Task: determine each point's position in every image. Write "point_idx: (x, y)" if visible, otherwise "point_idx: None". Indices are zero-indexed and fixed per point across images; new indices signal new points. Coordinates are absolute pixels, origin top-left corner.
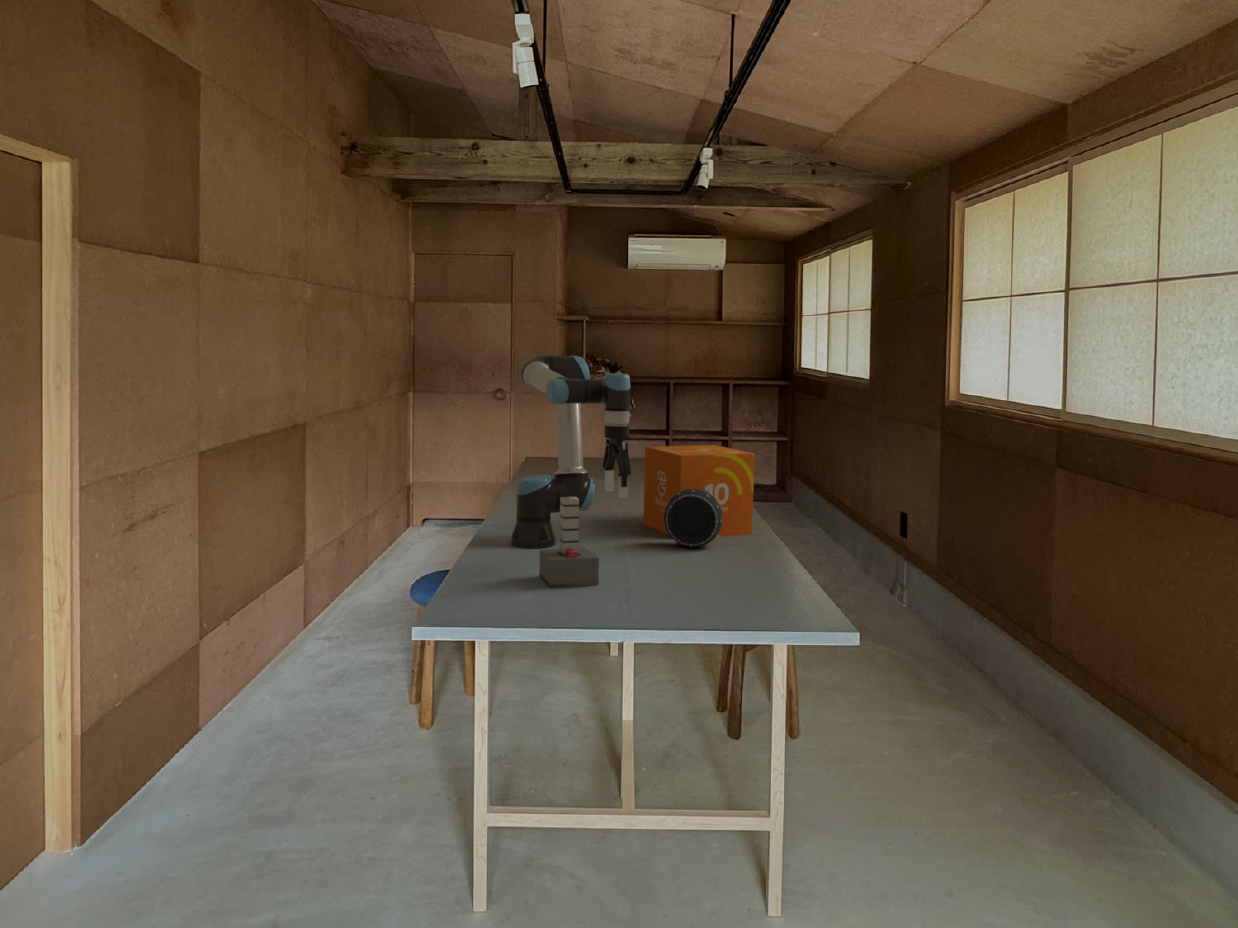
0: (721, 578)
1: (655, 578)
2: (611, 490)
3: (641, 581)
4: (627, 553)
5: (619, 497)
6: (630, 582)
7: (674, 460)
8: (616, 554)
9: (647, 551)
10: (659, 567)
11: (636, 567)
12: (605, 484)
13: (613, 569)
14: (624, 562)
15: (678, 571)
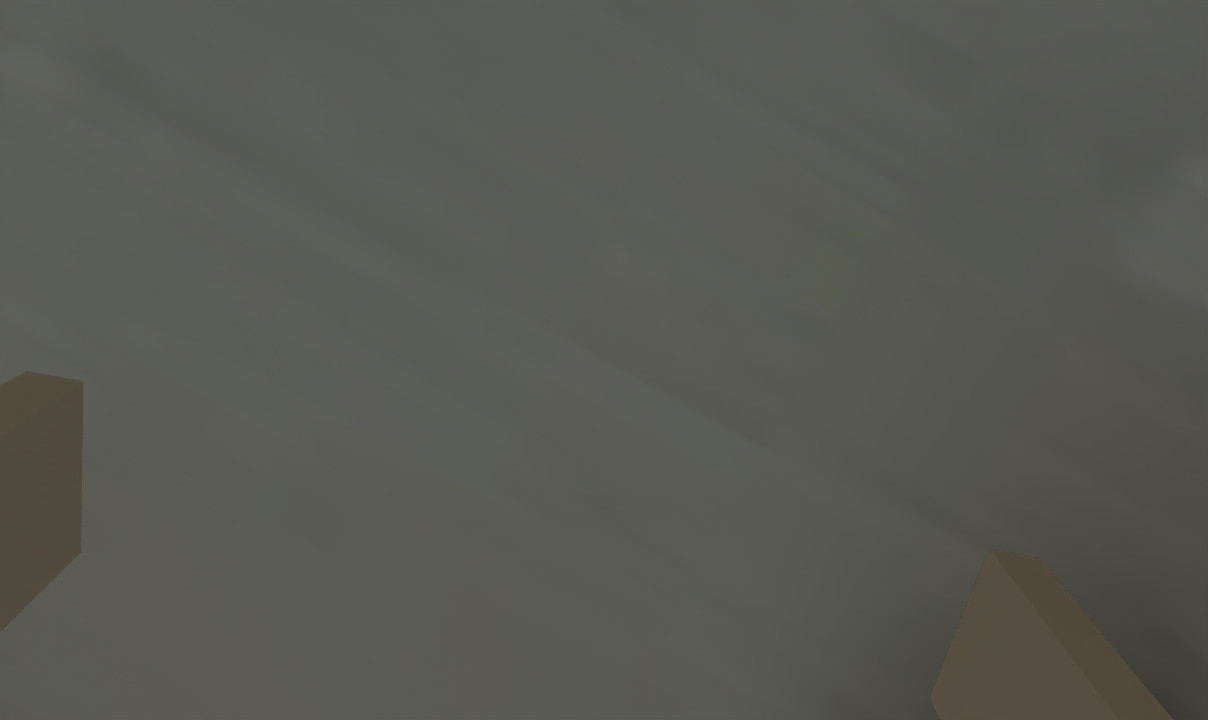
0: (72, 706)
1: (189, 348)
2: (952, 675)
3: (132, 209)
4: (974, 562)
5: (22, 384)
6: (125, 114)
7: None
8: (992, 479)
9: None
10: (482, 537)
11: (548, 399)
12: (1061, 648)
13: (561, 210)
14: (730, 401)
15: (329, 585)
